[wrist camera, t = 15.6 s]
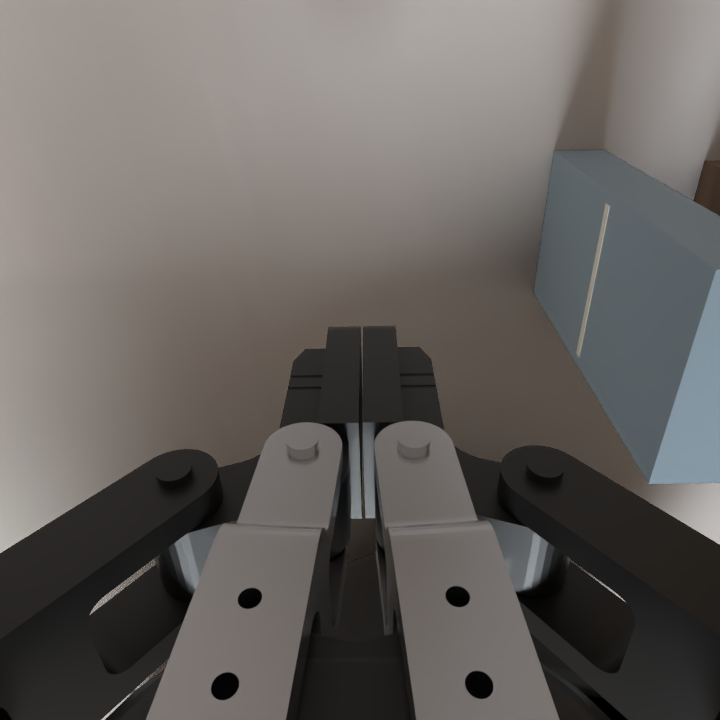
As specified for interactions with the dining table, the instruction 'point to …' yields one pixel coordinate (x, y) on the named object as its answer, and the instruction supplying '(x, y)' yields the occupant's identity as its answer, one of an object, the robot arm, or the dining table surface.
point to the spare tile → (638, 308)
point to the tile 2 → (709, 187)
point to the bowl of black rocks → (366, 623)
